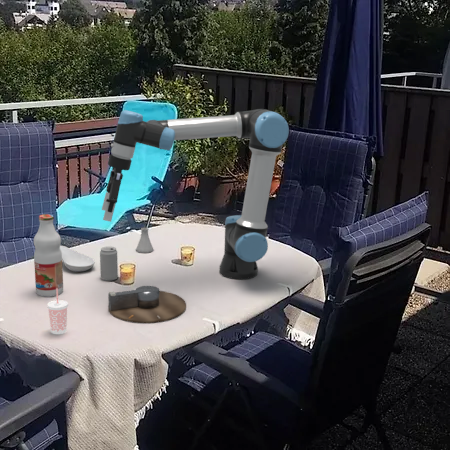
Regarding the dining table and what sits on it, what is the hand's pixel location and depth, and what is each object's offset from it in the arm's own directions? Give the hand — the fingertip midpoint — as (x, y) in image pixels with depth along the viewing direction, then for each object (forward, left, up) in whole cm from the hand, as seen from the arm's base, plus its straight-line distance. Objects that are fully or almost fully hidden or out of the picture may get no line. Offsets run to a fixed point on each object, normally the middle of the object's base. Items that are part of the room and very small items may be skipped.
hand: (106, 215), depth 218 cm
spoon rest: (+7, -32, -29) cm, 43 cm away
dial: (-4, +18, -27) cm, 33 cm away
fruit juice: (+19, -7, -28) cm, 35 cm away
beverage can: (-4, -13, -28) cm, 31 cm away
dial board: (-9, +18, -28) cm, 35 cm away
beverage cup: (+22, +26, -28) cm, 45 cm away
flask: (-27, -41, -28) cm, 56 cm away
